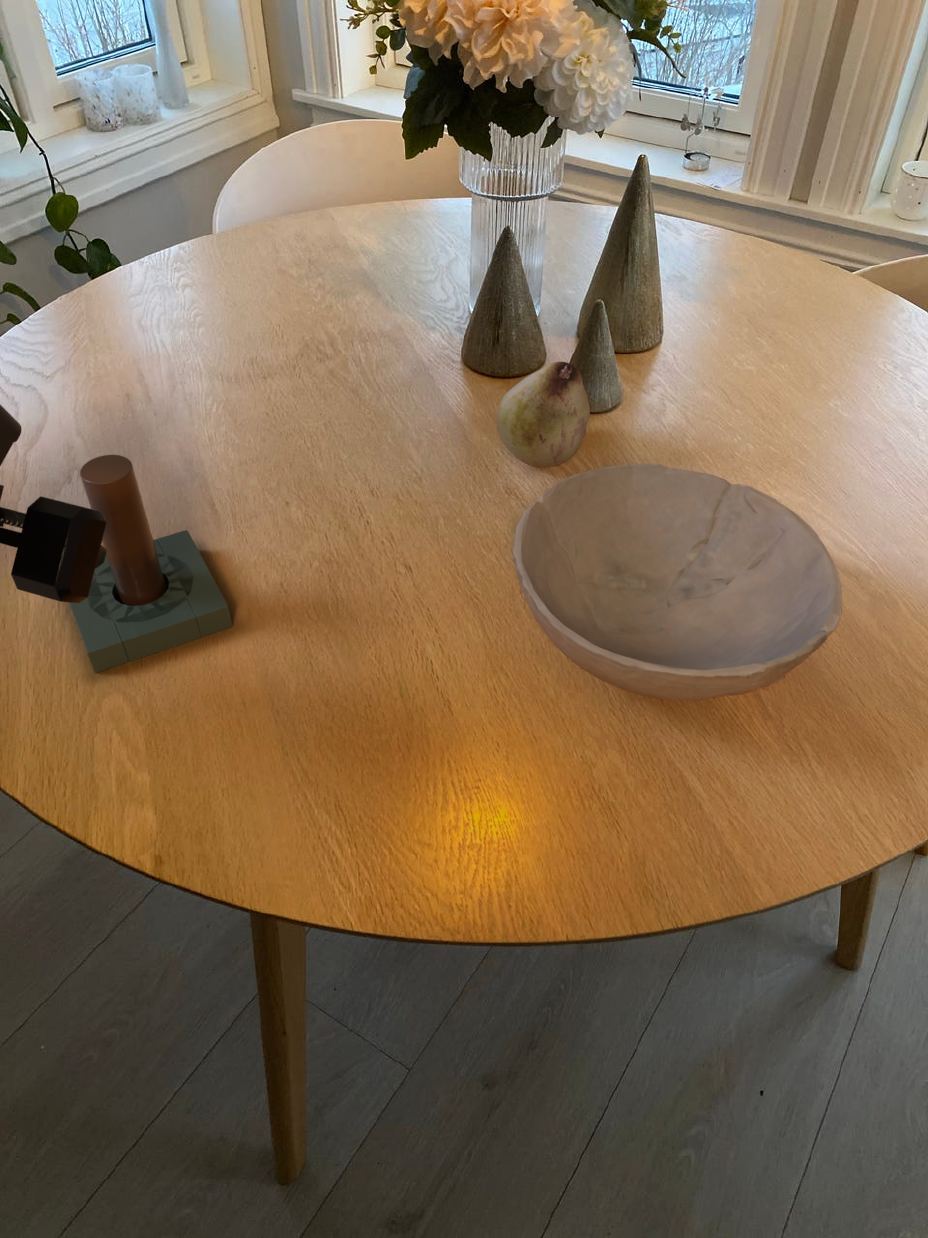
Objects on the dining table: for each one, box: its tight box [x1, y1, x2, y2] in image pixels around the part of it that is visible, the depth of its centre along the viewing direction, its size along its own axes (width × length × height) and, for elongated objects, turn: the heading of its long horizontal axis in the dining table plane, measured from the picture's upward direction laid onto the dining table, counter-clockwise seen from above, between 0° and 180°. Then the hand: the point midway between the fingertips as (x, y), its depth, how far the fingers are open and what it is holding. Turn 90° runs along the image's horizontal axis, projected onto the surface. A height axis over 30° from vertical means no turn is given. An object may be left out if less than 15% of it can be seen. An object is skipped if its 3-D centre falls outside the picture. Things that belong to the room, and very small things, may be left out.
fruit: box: [496, 361, 591, 468], centre depth 100 cm, size 10×9×12 cm
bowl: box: [512, 463, 843, 701], centre depth 80 cm, size 26×26×10 cm
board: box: [68, 529, 234, 674], centre depth 85 cm, size 12×12×2 cm
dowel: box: [79, 454, 167, 606], centre depth 81 cm, size 4×4×15 cm
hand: (51, 541), depth 72 cm, fingers open, 9 cm apart
